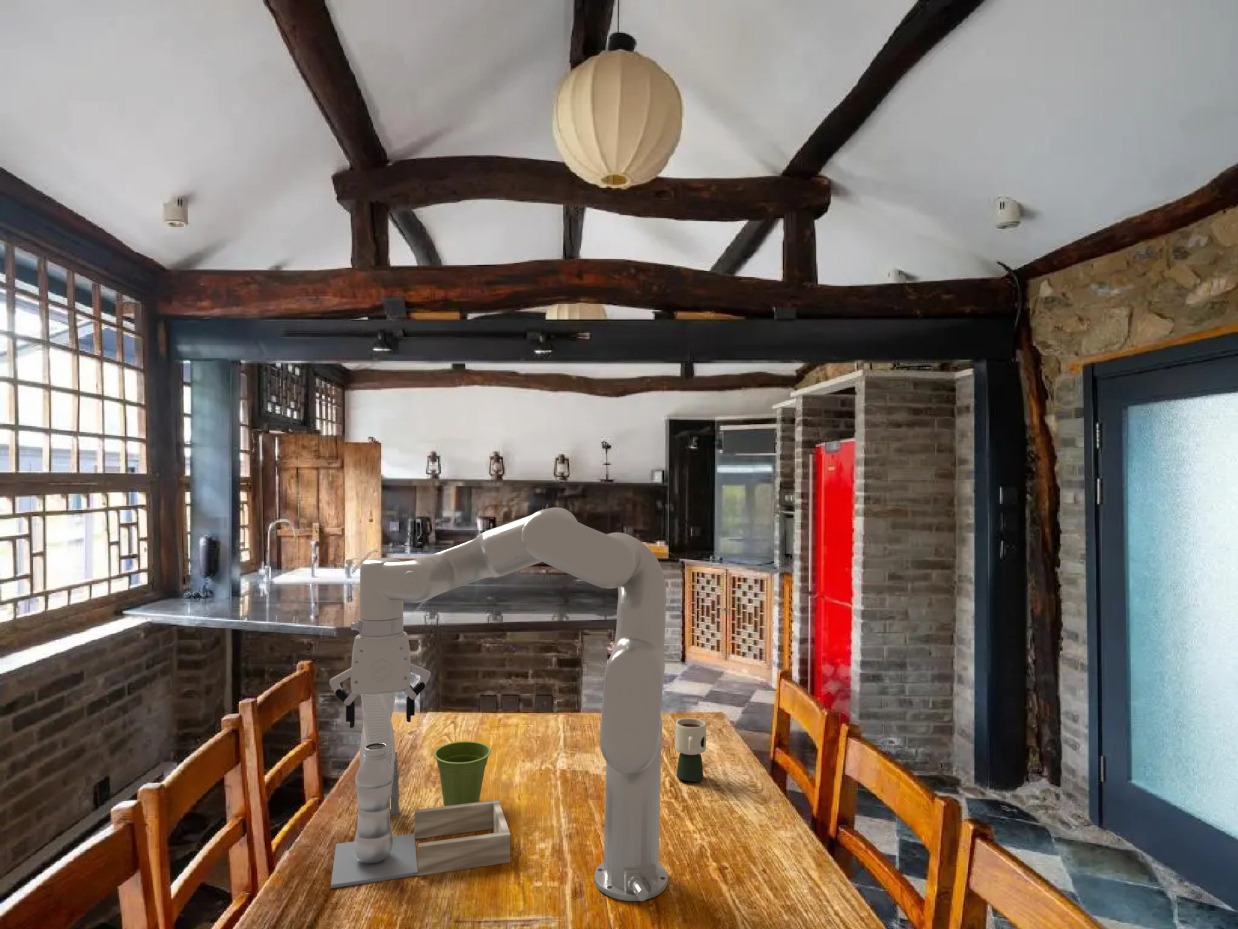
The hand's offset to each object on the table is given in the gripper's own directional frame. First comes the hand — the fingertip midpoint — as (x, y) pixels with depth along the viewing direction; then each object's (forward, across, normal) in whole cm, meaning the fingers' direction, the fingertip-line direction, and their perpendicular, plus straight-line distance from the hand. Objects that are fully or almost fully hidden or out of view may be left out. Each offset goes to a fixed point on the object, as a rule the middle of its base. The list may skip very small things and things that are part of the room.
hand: (380, 722), depth 129 cm
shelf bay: (+25, +14, 0) cm, 29 cm away
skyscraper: (+25, -1, +21) cm, 33 cm away
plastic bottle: (+24, -1, 0) cm, 24 cm away
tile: (+25, -1, 0) cm, 25 cm away
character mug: (+26, +68, +17) cm, 75 cm away
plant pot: (+25, +16, +18) cm, 35 cm away
